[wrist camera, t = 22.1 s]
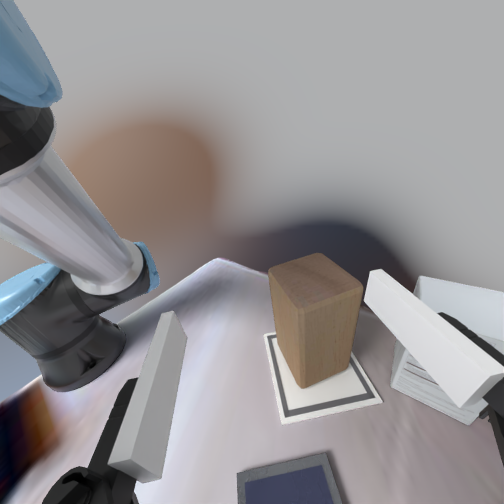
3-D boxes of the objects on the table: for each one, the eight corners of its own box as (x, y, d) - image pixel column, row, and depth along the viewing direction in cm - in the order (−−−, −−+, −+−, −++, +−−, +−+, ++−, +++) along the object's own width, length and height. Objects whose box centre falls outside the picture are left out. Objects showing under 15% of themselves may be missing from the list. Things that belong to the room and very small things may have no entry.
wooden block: (317, 326, 42) (320, 249, 32) (350, 370, 34) (368, 283, 24) (276, 343, 40) (265, 266, 30) (300, 393, 32) (296, 310, 22)
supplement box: (471, 429, 26) (547, 356, 18) (388, 388, 31) (417, 317, 23) (461, 367, 32) (515, 292, 24) (394, 341, 37) (418, 273, 29)
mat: (263, 335, 43) (263, 334, 43) (332, 321, 44) (332, 319, 43) (281, 425, 29) (281, 424, 29) (382, 403, 30) (383, 401, 29)
